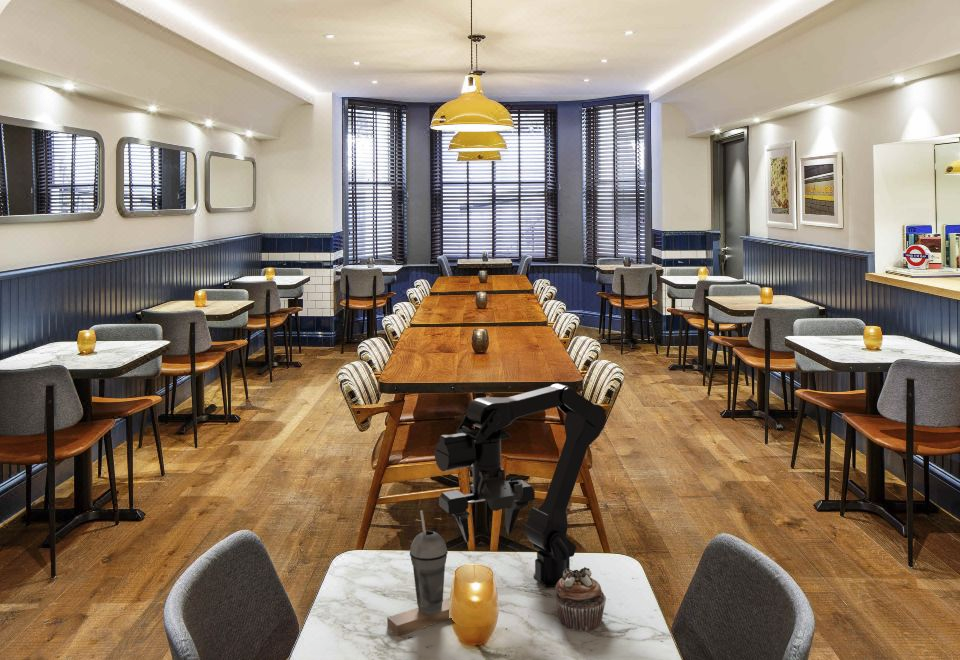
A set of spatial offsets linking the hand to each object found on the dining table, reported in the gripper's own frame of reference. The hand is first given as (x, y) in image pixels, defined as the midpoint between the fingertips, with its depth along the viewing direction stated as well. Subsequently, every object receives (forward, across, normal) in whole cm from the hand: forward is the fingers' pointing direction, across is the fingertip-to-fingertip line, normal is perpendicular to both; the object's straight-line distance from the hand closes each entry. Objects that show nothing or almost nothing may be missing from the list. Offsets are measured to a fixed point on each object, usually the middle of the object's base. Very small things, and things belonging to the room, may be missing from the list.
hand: (487, 537), depth 168 cm
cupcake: (+13, +12, -16) cm, 24 cm away
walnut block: (+13, -14, -3) cm, 19 cm away
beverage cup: (+11, -14, -3) cm, 18 cm away
